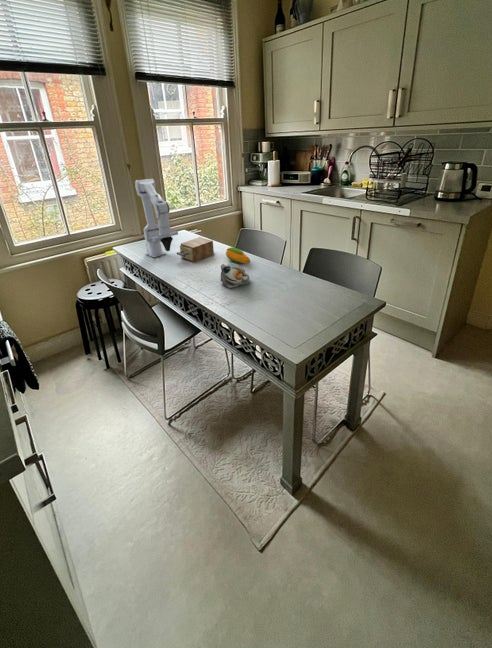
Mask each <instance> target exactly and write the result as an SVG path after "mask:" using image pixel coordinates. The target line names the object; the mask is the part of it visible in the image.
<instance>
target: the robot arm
mask: <svg viewBox="0 0 492 648" xmlns="http://www.w3.org/2000/svg"><path fill="white" fill-rule="evenodd" d="M134 186H135V191H136V192H135V193H136V195H137V196H139V197H140V199H141V202H142V207H143V212H144V217H145V221H146V226H145V227H143V229H142V230H143V237H144V240H145V247H146V253H145V255H147V256H149V257H151V258H154V259H155V258H157V257H158V258H159V257H160V256H163V255H166V252H170V251H171V245H172V242H173V240H174V239H173V237H174V236H178V235H179V231H178V230H176V229H175V230H171V223H170V216H169V214H170V205H169V203H168V201H166V200H164V199H163V197H162V196H161V195H160V194H159V193H158V192H157V191H156V182H155V180H154V179H153V178H147V179H146V178H145V179H136V180H135V182H134ZM152 205H153V206H152ZM154 214H155V215H154ZM155 217H156V218H157V223H156V220H155ZM162 245H163V247H164V250H165V251H166V252H163V248H162Z"/></svg>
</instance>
